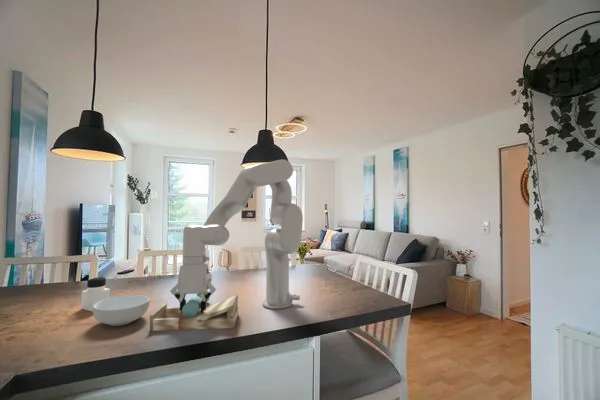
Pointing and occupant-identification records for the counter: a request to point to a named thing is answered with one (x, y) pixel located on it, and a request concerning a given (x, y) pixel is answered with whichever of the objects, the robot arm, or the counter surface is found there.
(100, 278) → the medicine bottle
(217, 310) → the launch ramp
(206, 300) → the snail figurine
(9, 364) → the counter surface
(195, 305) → the roller
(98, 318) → the cereal bowl
